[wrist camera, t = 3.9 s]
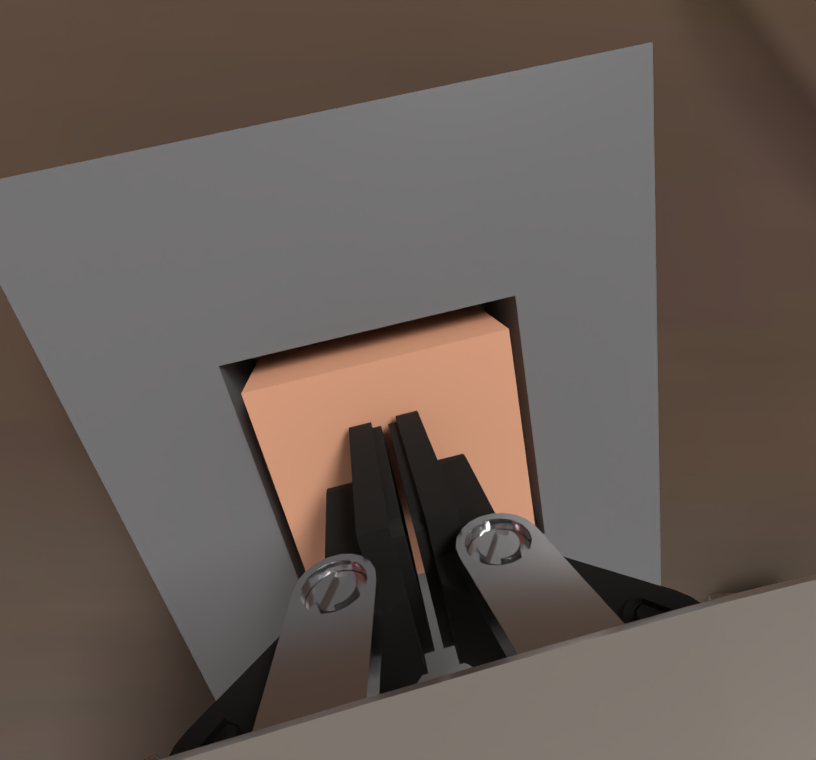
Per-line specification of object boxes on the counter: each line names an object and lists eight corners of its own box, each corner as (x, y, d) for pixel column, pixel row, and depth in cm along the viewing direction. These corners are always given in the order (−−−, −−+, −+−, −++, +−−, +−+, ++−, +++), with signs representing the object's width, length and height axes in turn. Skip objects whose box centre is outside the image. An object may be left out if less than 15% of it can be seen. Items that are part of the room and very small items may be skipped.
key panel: (565, 87, 14) (652, 42, 10) (613, 730, 24) (664, 828, 20) (64, 193, 13) (-50, 189, 9) (334, 811, 23) (334, 930, 19)
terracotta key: (473, 303, 13) (508, 329, 11) (501, 482, 16) (537, 542, 13) (261, 353, 13) (241, 393, 10) (320, 529, 15) (316, 601, 12)
